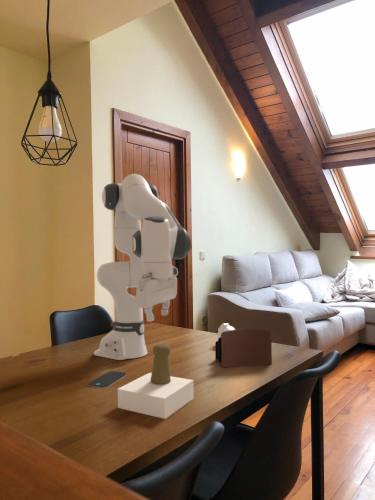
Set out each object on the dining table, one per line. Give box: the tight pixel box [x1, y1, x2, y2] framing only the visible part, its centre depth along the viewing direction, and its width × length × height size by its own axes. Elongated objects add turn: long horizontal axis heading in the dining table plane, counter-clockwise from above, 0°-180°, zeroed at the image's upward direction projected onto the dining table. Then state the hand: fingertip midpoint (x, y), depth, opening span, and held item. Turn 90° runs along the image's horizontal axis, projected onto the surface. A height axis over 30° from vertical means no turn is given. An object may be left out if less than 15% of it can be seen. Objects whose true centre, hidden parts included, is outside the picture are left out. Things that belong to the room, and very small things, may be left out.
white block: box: [117, 372, 195, 420], centre depth 121 cm, size 16×16×6 cm
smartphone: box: [87, 370, 127, 389], centre depth 142 cm, size 8×1×15 cm
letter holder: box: [214, 327, 273, 368], centre depth 159 cm, size 10×20×14 cm, turn 100°
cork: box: [151, 343, 171, 385], centre depth 123 cm, size 6×6×11 cm
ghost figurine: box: [216, 322, 236, 340], centre depth 184 cm, size 9×10×10 cm
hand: (157, 318), depth 122 cm, fingers open, 8 cm apart
